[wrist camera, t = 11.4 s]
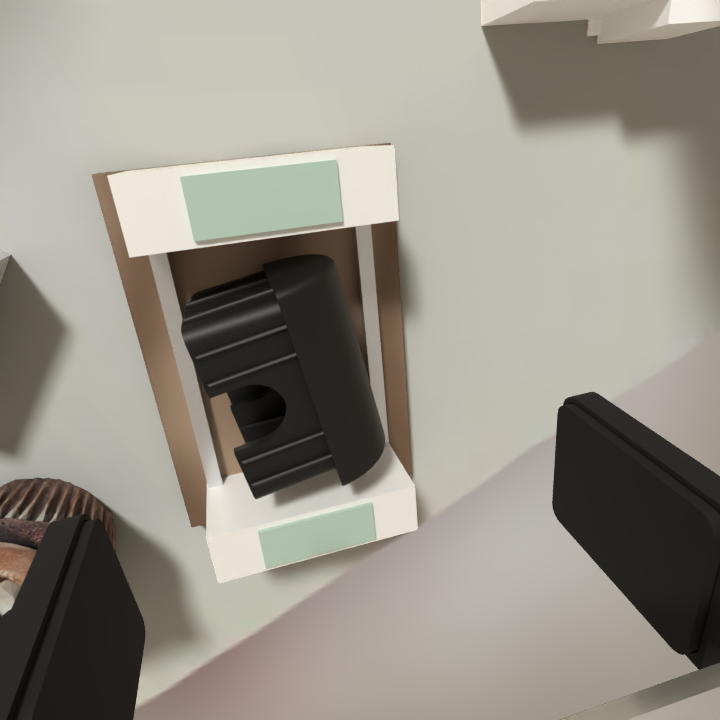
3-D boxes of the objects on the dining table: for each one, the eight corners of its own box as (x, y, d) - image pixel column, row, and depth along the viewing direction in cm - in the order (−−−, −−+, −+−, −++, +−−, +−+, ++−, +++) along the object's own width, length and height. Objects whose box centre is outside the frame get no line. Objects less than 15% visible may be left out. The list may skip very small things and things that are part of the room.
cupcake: (-102, 532, 28) (-253, 715, 19) (48, 431, 28) (-29, 564, 19) (36, 624, 32) (-32, 809, 23) (166, 536, 32) (149, 685, 23)
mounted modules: (362, 146, 25) (395, 145, 21) (390, 478, 33) (418, 531, 29) (127, 170, 23) (106, 175, 18) (217, 521, 31) (218, 586, 26)
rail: (360, 146, 25) (364, 146, 25) (388, 479, 33) (392, 486, 33) (129, 170, 23) (126, 171, 22) (218, 520, 31) (219, 529, 30)
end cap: (365, 403, 31) (403, 465, 25) (251, 446, 30) (261, 521, 24) (317, 242, 27) (348, 269, 20) (182, 286, 26) (174, 327, 20)
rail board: (383, 143, 27) (390, 143, 26) (405, 463, 35) (411, 473, 34) (96, 173, 24) (91, 174, 23) (192, 514, 32) (191, 527, 31)
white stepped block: (415, 25, 26) (466, -6, 21) (550, -211, 24) (645, -312, 18) (602, 192, 32) (677, 200, 27) (722, 16, 30) (830, -13, 24)
